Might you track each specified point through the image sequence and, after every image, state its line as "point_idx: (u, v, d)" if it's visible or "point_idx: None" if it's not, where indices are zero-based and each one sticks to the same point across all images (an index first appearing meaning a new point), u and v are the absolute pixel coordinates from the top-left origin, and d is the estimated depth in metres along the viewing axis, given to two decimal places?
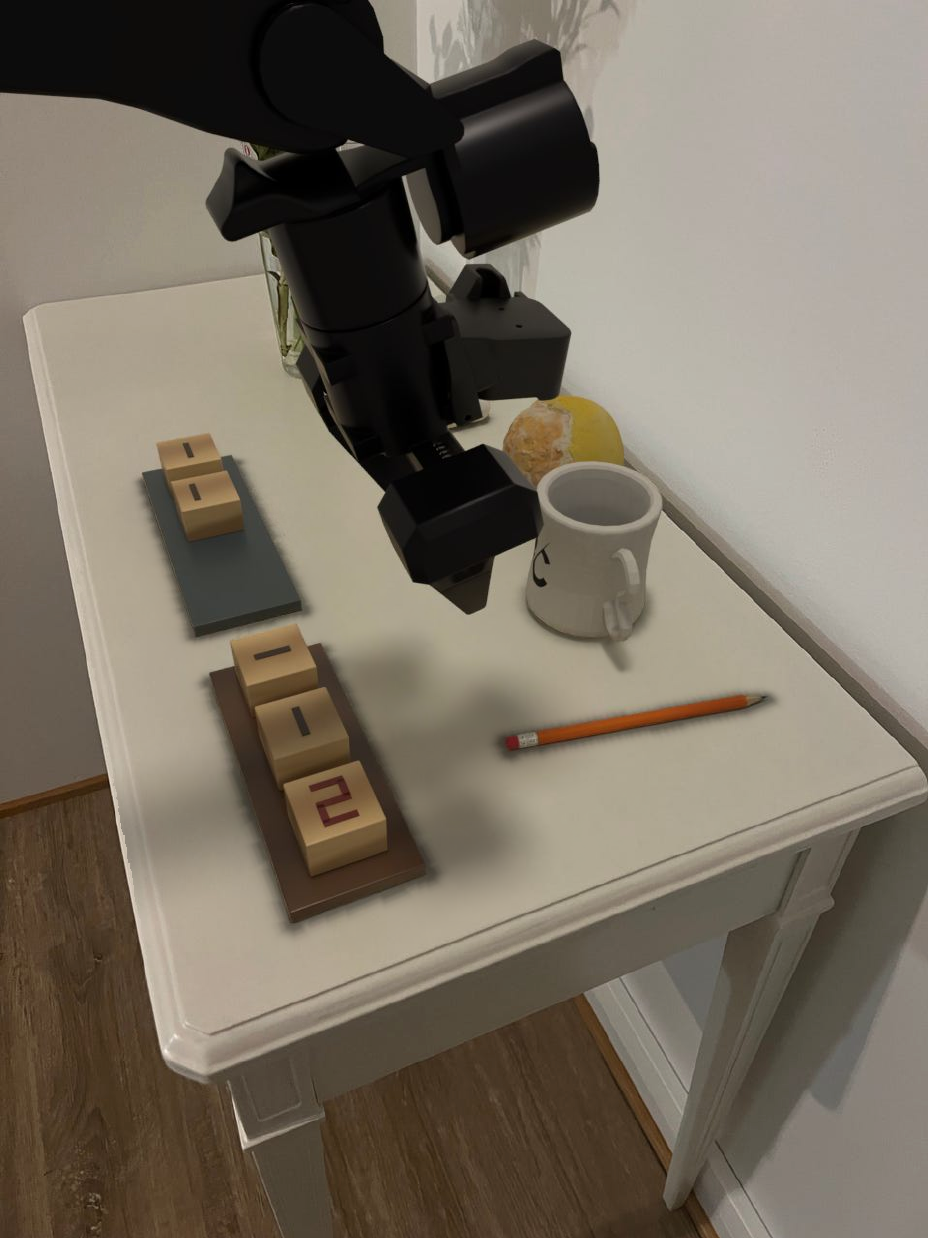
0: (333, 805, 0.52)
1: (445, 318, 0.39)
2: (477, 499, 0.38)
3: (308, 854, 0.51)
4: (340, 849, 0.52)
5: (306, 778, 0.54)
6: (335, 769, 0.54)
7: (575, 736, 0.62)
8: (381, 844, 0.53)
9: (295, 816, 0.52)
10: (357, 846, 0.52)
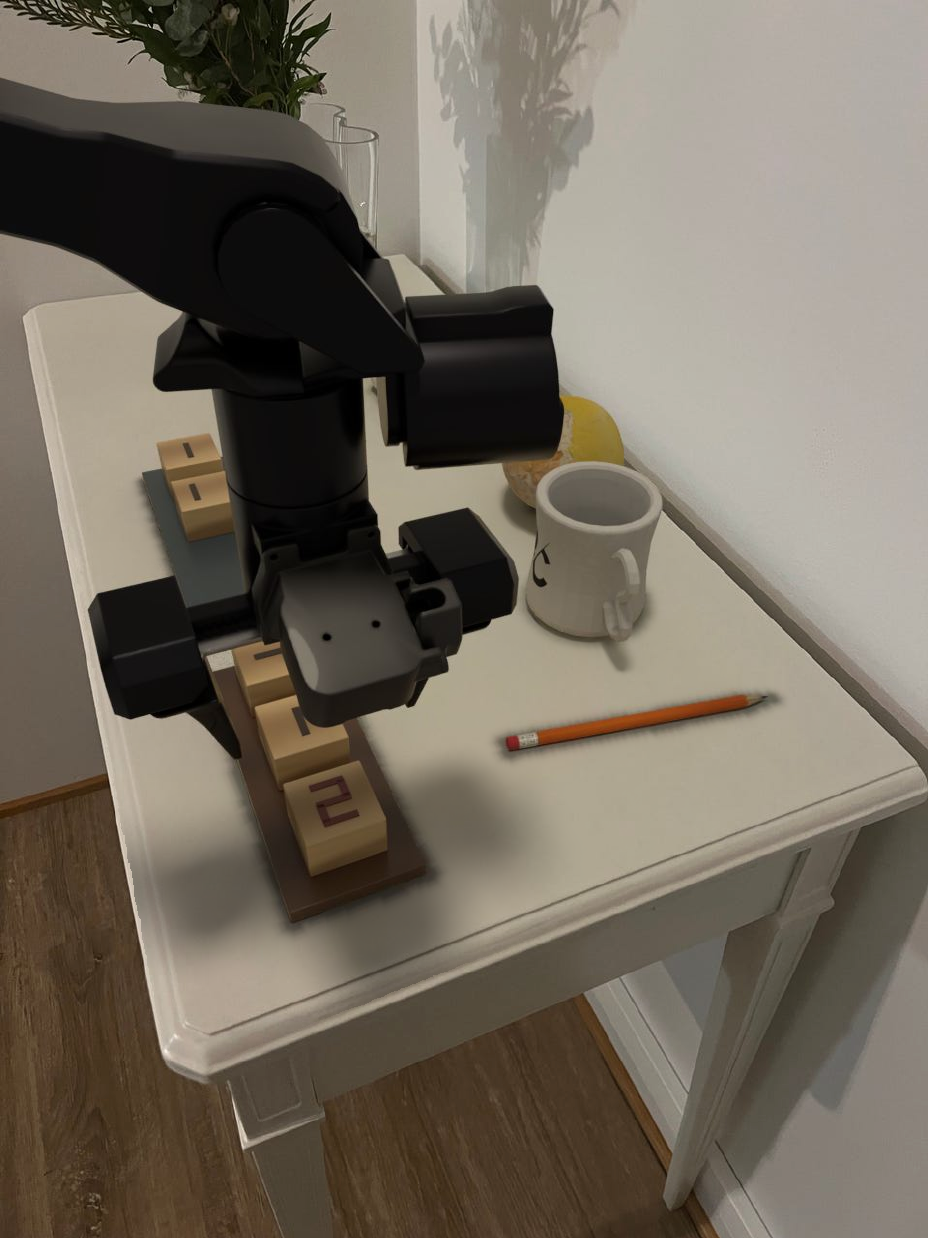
0: (333, 805, 0.52)
1: (258, 540, 0.36)
2: (107, 632, 0.39)
3: (308, 854, 0.51)
4: (340, 849, 0.52)
5: (306, 778, 0.54)
6: (335, 769, 0.54)
7: (575, 736, 0.62)
8: (381, 844, 0.53)
9: (295, 816, 0.52)
10: (357, 846, 0.52)
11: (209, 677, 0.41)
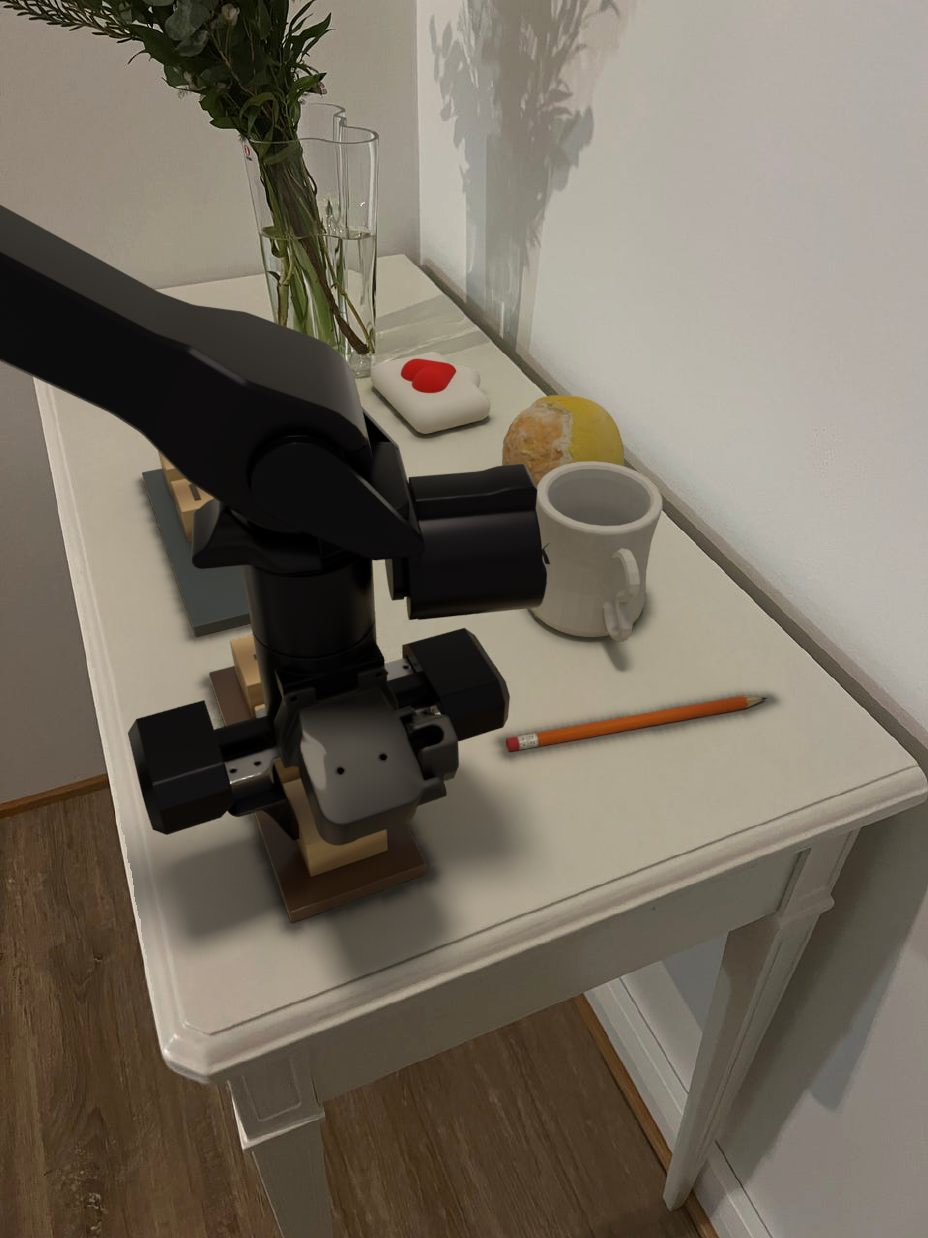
0: None
1: (281, 685, 0.42)
2: (147, 758, 0.44)
3: (308, 854, 0.51)
4: (340, 849, 0.52)
5: None
6: None
7: (575, 737, 0.62)
8: (381, 844, 0.53)
9: (295, 816, 0.52)
10: (357, 846, 0.52)
11: (278, 777, 0.47)
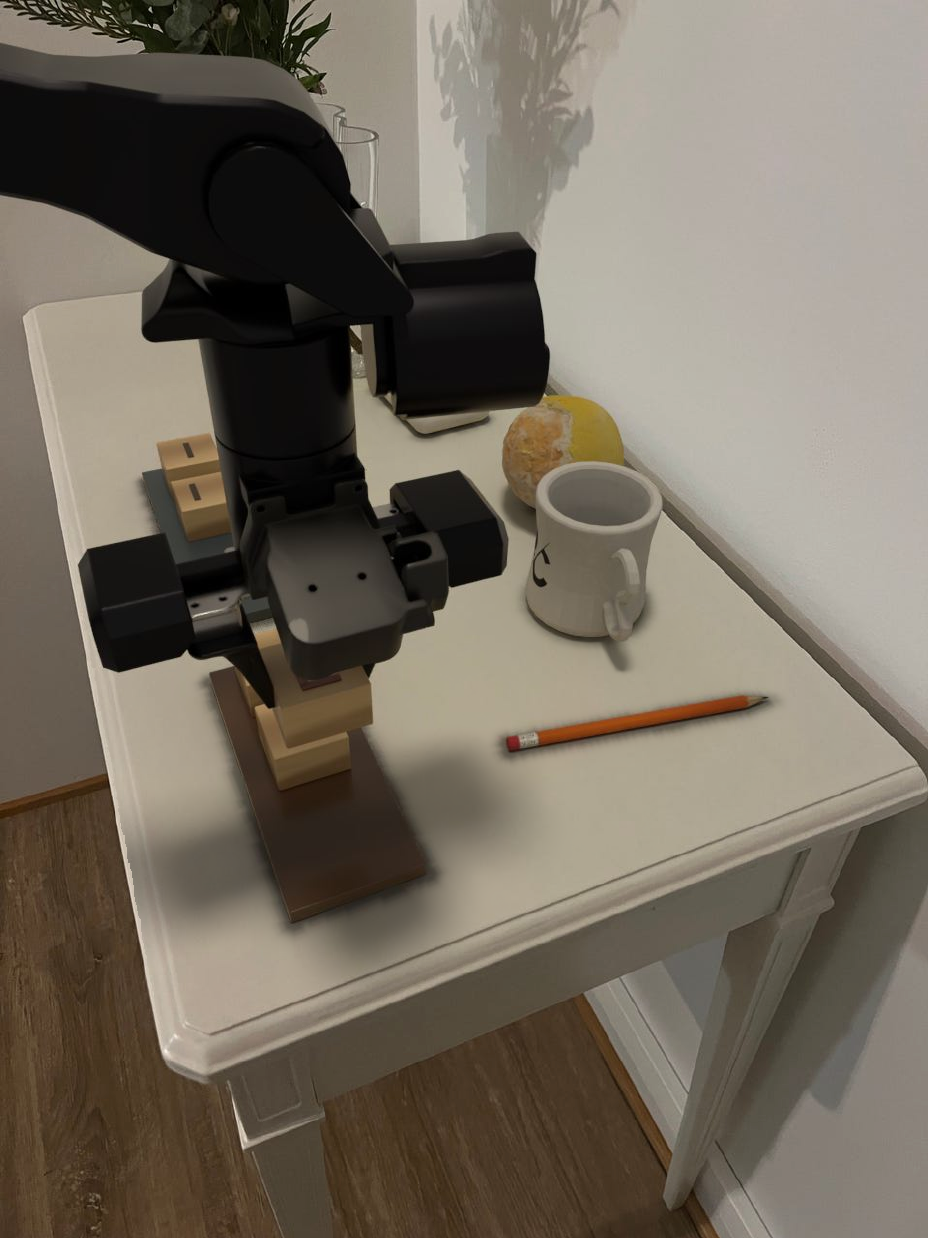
0: None
1: (245, 491, 0.36)
2: (96, 585, 0.39)
3: (284, 719, 0.46)
4: (319, 716, 0.47)
5: None
6: None
7: (576, 736, 0.61)
8: (365, 714, 0.48)
9: None
10: (339, 715, 0.47)
11: (247, 621, 0.42)
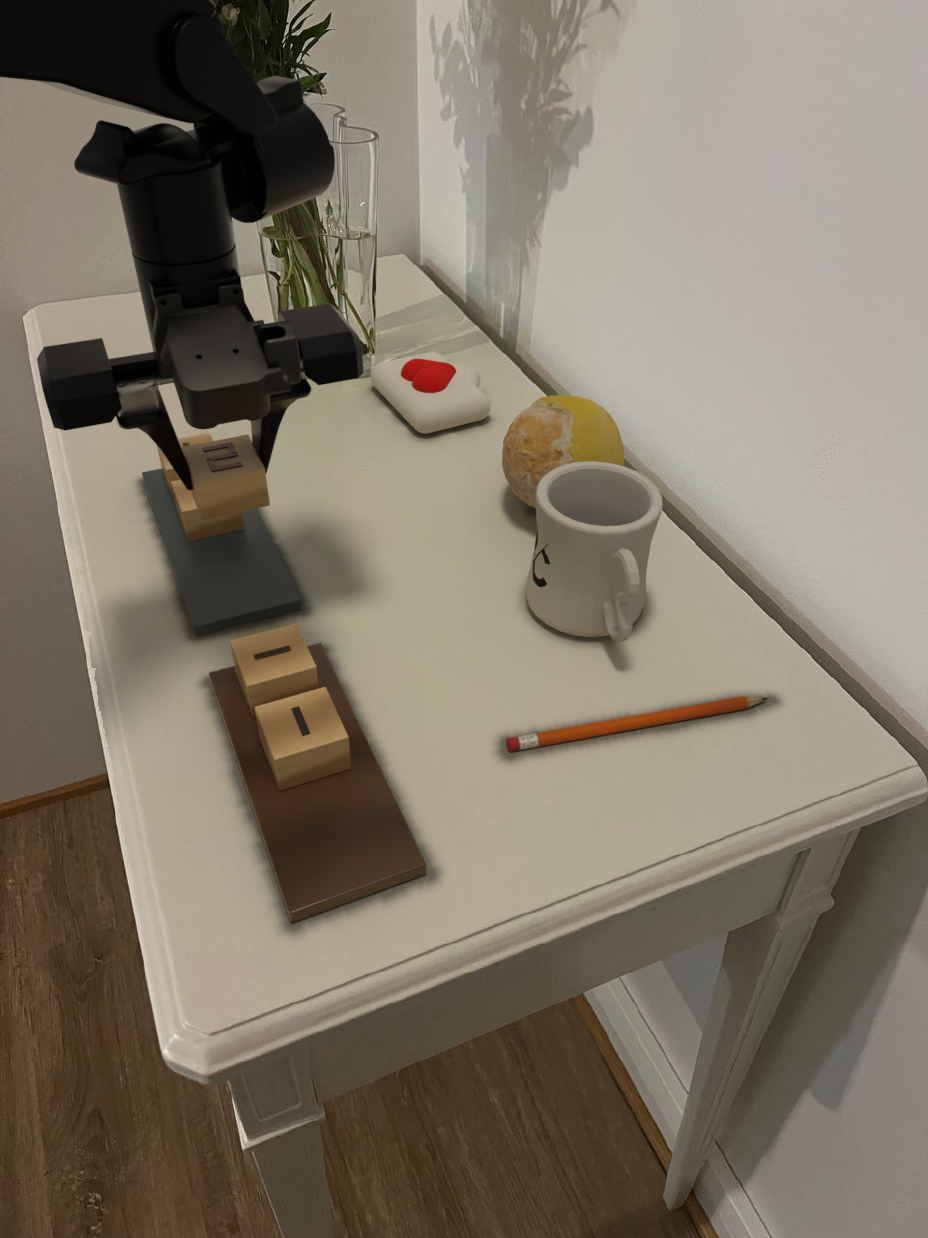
0: (221, 459, 0.62)
1: (152, 289, 0.51)
2: (49, 367, 0.53)
3: (197, 492, 0.60)
4: (225, 493, 0.61)
5: (201, 443, 0.63)
6: (227, 439, 0.64)
7: (576, 738, 0.61)
8: (263, 496, 0.62)
9: (188, 465, 0.61)
10: (241, 493, 0.62)
11: (163, 405, 0.57)
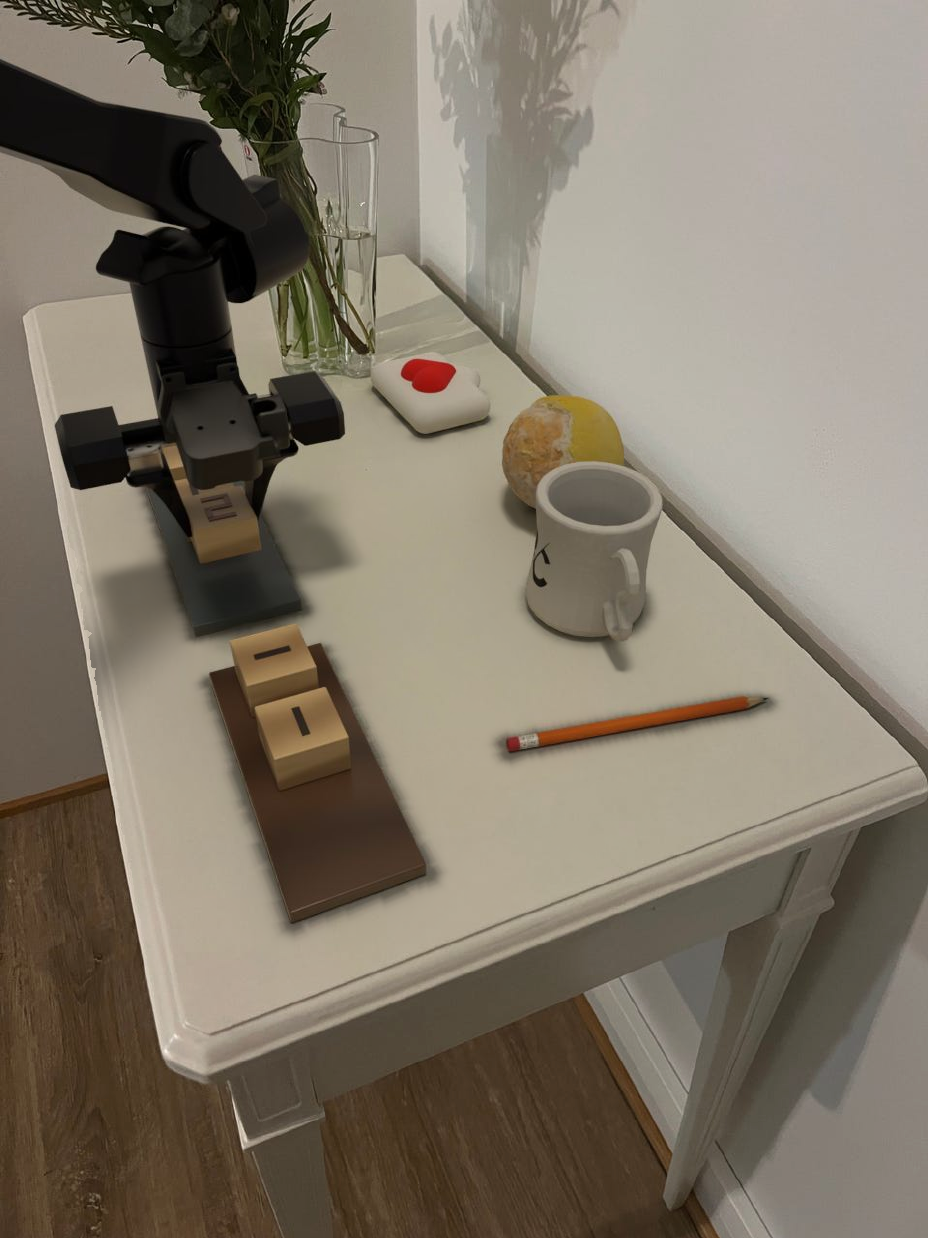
0: (217, 509, 0.69)
1: (158, 368, 0.58)
2: (66, 434, 0.60)
3: (196, 539, 0.67)
4: (221, 540, 0.68)
5: (199, 494, 0.70)
6: (222, 490, 0.71)
7: (576, 737, 0.61)
8: (255, 541, 0.69)
9: (188, 515, 0.68)
10: (235, 540, 0.69)
11: (167, 465, 0.64)
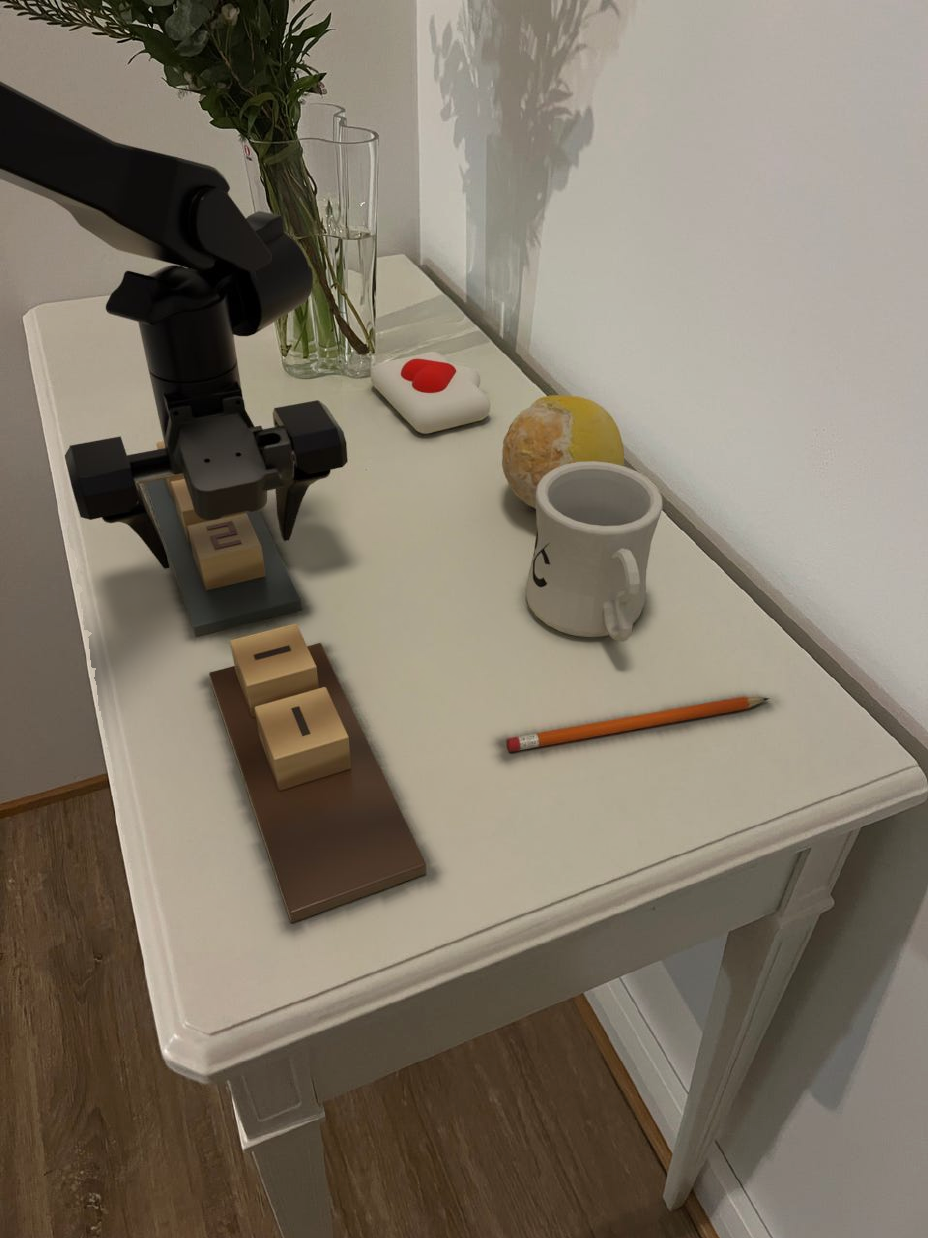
0: (222, 537, 0.71)
1: (166, 402, 0.60)
2: (76, 465, 0.62)
3: (202, 567, 0.69)
4: (227, 567, 0.70)
5: (205, 522, 0.72)
6: (227, 517, 0.72)
7: (576, 738, 0.61)
8: (259, 569, 0.71)
9: (194, 543, 0.70)
10: (240, 567, 0.70)
11: (142, 500, 0.65)
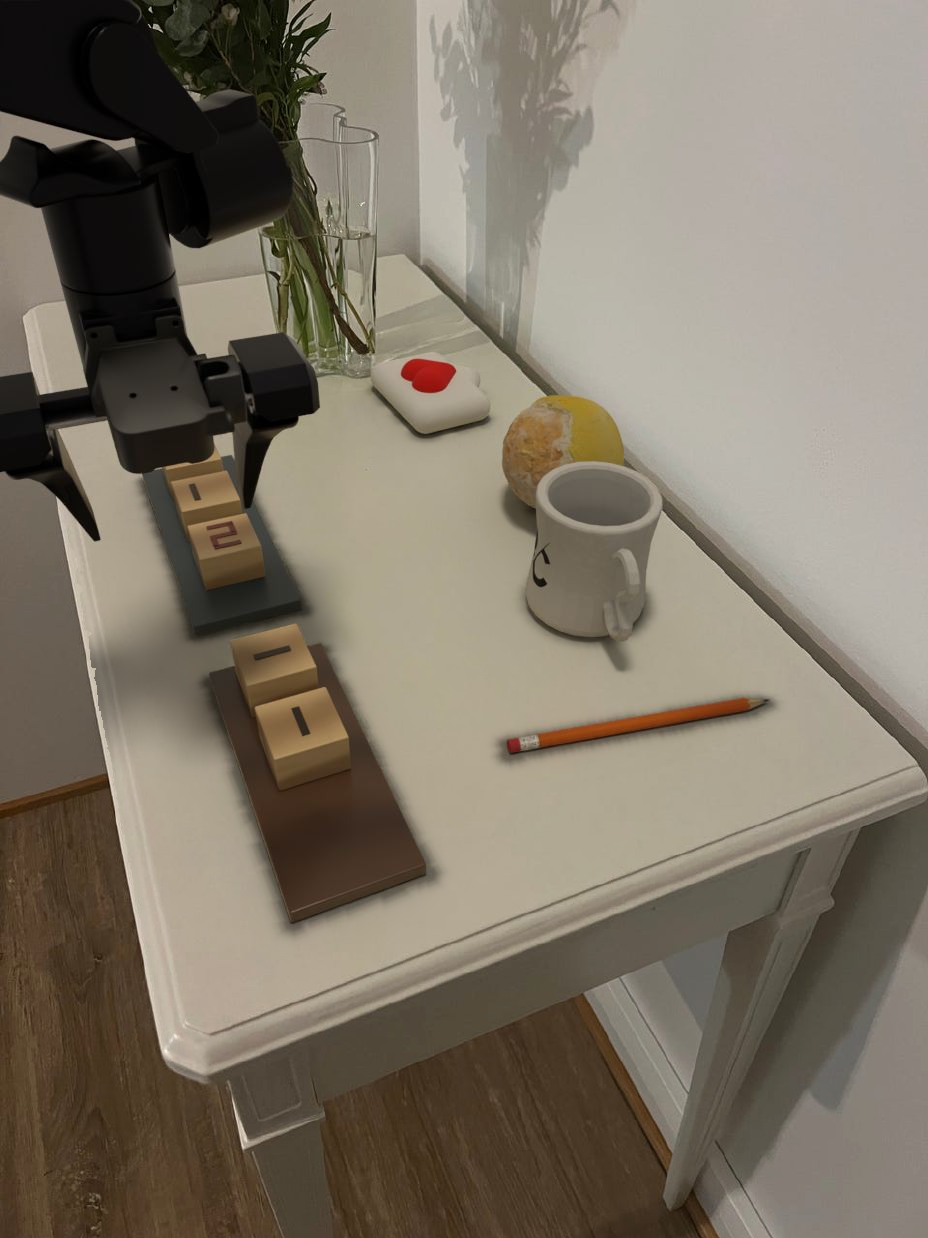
0: (222, 537, 0.71)
1: (81, 321, 0.46)
2: None
3: (202, 567, 0.69)
4: (227, 567, 0.70)
5: (205, 522, 0.72)
6: (227, 517, 0.72)
7: (577, 739, 0.61)
8: (259, 569, 0.71)
9: (194, 543, 0.70)
10: (240, 567, 0.70)
11: (59, 452, 0.51)
